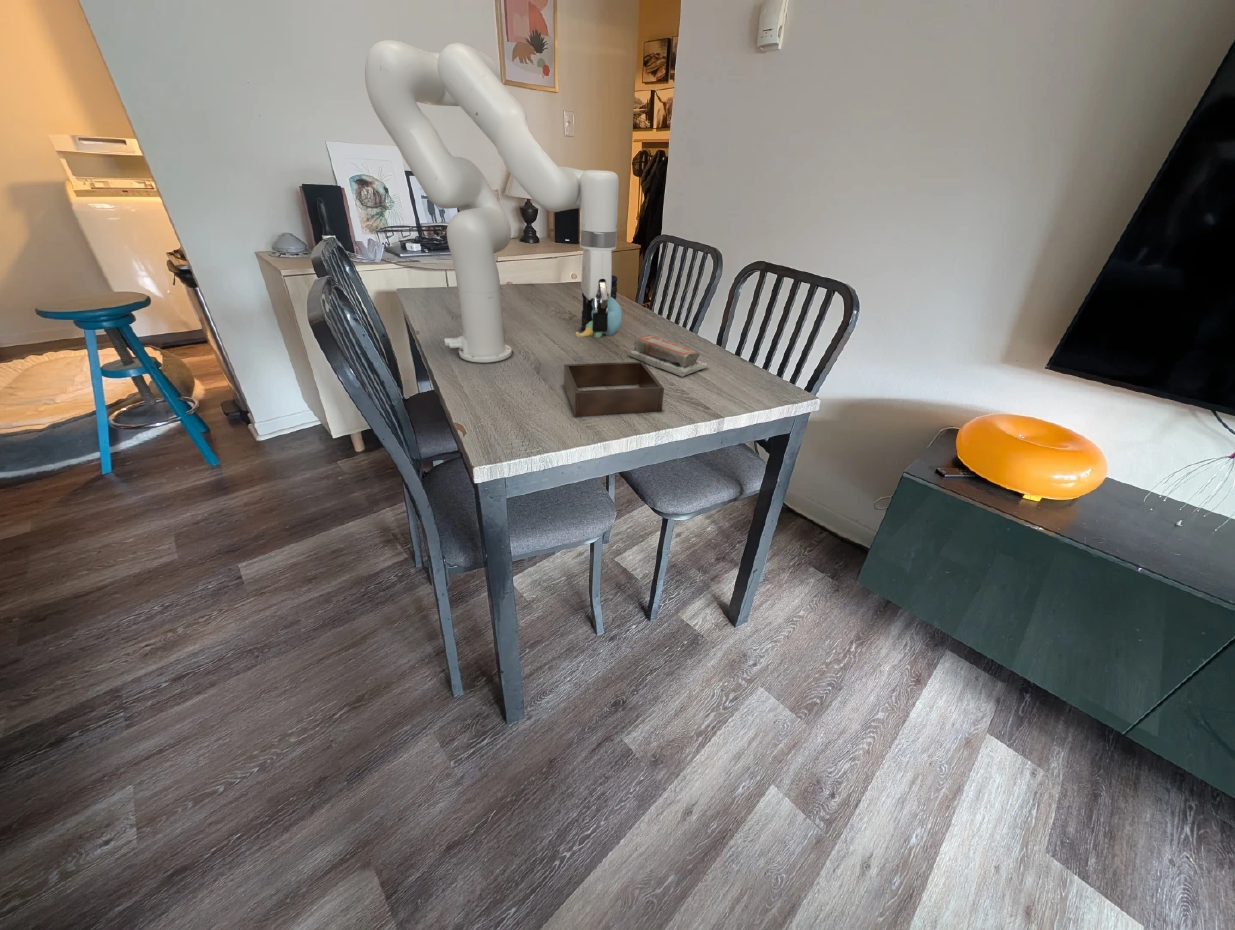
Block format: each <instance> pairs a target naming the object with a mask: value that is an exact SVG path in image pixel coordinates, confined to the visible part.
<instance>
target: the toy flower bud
mask: <svg viewBox="0 0 1235 930" xmlns="http://www.w3.org/2000/svg"><path fill="white" fill-rule="evenodd" d="M596 298H601V297H600V296H597V297H596ZM599 303H600V302H597V307H598V304H599ZM607 304H608V322H607V331H605V332H594V331H593V321H590V322H589V323H588V324H587V325H586V330H585V331H584V332H582V331H581V332H579V331H576V332H575V336H576V337H577V338H578V339H583V338H588V337H594V339H597V340H598V339H600V338H602V337H603V336H602V333H603V334H606V335H607V336H608V337H612V336H614V335H615V334H616V333H617V332H618V331H619V329H620V328H621V327H622V324H623V311H622V307H621V305H620V303H618V301H617V299H614V298H612V297H610V298H609V299H608V302H607ZM592 307H593V310H592V319H593V313H594V300H592Z"/></svg>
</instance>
